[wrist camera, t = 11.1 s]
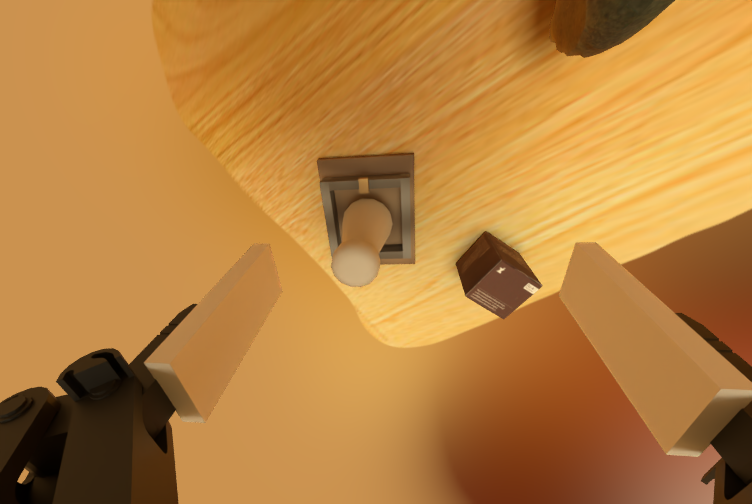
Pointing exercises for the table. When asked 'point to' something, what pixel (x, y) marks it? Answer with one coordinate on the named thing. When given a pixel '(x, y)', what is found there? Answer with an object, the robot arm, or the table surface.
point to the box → (496, 276)
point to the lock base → (372, 181)
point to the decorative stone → (599, 23)
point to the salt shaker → (361, 242)
